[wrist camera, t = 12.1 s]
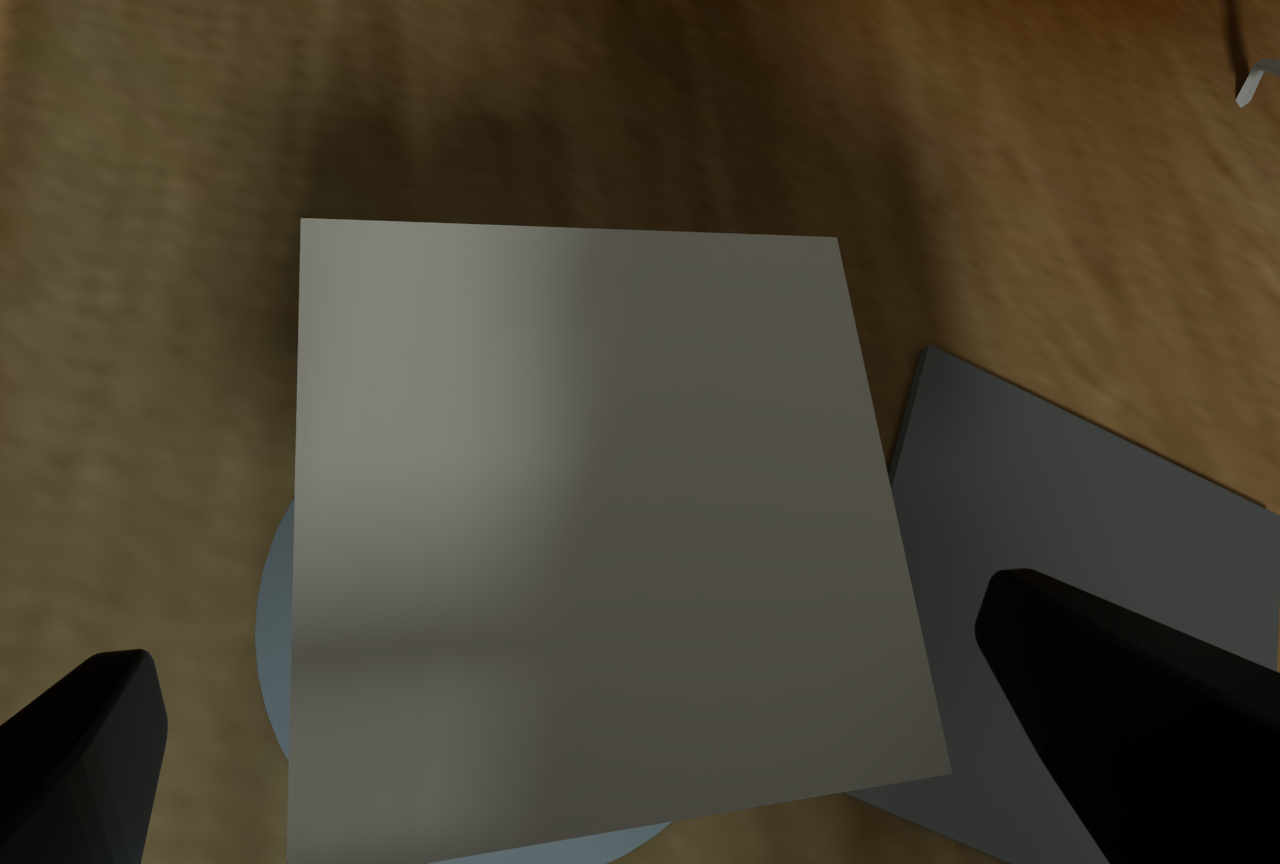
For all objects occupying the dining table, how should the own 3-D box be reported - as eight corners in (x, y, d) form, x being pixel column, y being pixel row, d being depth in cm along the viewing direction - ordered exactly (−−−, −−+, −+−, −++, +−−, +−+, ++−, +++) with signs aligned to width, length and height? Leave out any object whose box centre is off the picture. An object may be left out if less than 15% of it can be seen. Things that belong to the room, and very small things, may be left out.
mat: (1248, 966, 19) (1264, 971, 18) (807, 778, 18) (815, 779, 17) (1269, 520, 23) (1282, 517, 23) (921, 350, 22) (929, 344, 22)
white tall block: (685, 734, 17) (952, 773, 8) (377, 777, 15) (286, 887, 6) (651, 453, 19) (837, 237, 10) (373, 465, 17) (300, 218, 8)
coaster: (708, 932, 16) (714, 937, 16) (163, 814, 15) (156, 817, 14) (789, 451, 20) (796, 446, 20) (370, 319, 19) (368, 311, 18)
